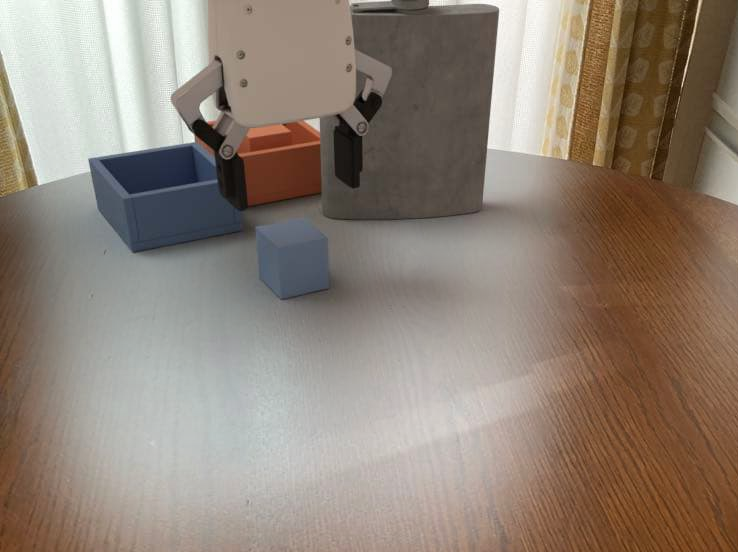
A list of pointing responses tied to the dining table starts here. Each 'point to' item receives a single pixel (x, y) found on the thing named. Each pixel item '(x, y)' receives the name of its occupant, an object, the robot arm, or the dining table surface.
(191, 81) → the robot arm
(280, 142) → the terracotta block
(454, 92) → the hip flask
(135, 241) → the blue bin
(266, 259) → the blue block
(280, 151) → the terracotta bin
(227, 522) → the dining table surface
